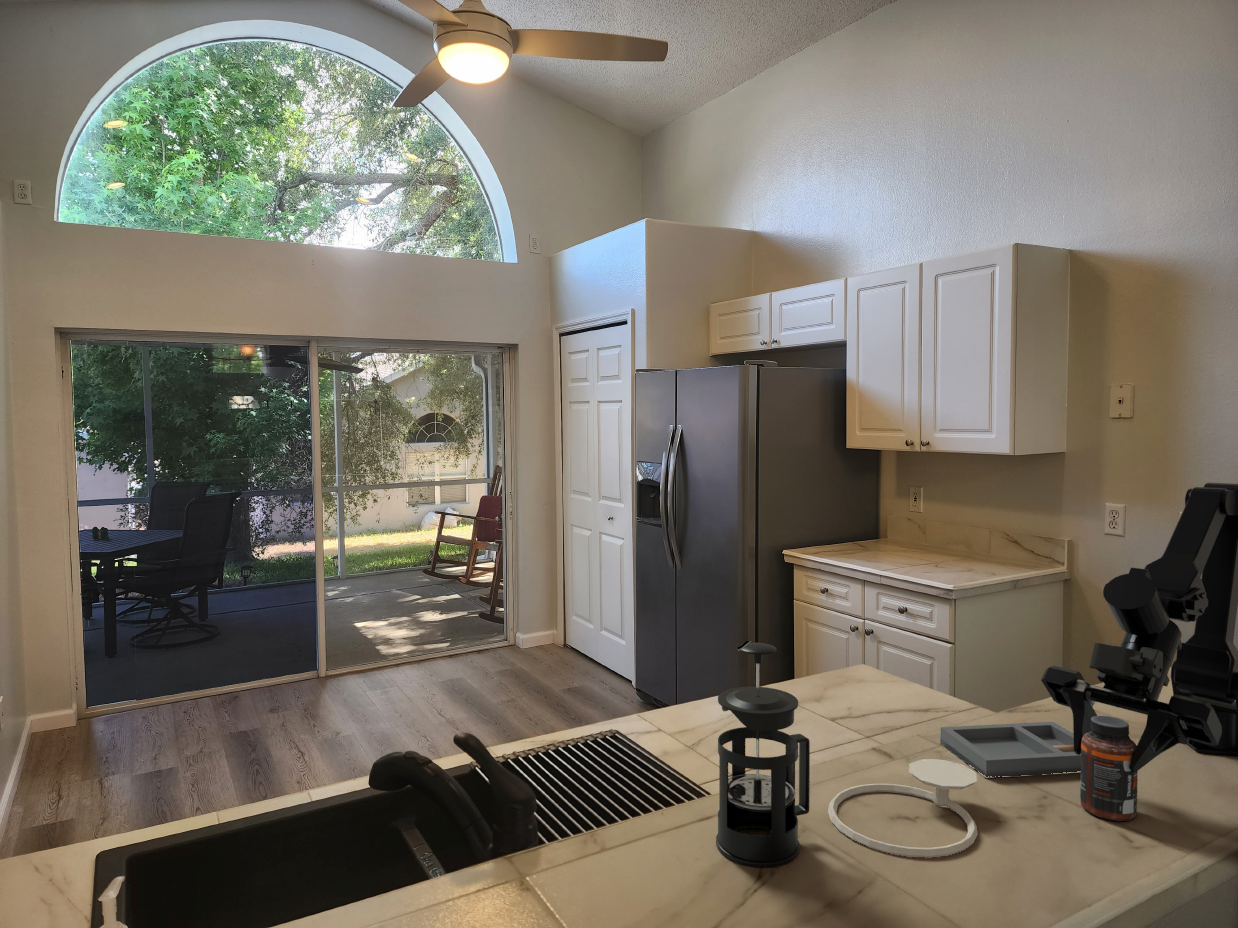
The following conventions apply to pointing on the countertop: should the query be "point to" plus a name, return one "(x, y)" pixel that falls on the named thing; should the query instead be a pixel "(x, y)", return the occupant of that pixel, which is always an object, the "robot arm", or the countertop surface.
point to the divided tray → (1014, 748)
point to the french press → (757, 794)
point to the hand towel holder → (930, 774)
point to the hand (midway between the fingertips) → (1103, 761)
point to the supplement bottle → (1108, 770)
